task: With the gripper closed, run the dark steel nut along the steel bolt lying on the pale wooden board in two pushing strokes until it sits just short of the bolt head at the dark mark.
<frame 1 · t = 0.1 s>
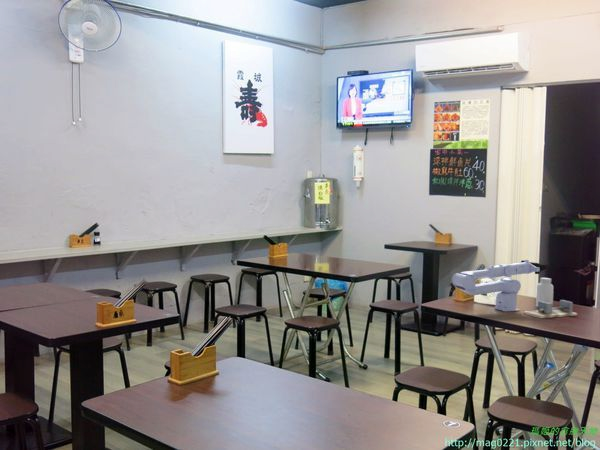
hand: (540, 265, 315), 22 cm above the table, tool horizontal, fingers open, 7 cm apart
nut: (545, 307, 299), point 4 cm above the table, slide at 0.0 cm
bolt board: (550, 314, 300), on the table
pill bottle: (544, 307, 318), on the table
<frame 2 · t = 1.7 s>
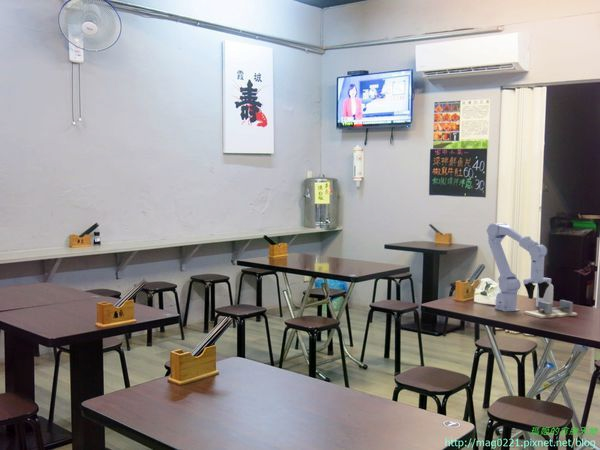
hand: (535, 298, 296), 8 cm above the table, tool pointing down, fingers open, 6 cm apart
nothing on the table moved.
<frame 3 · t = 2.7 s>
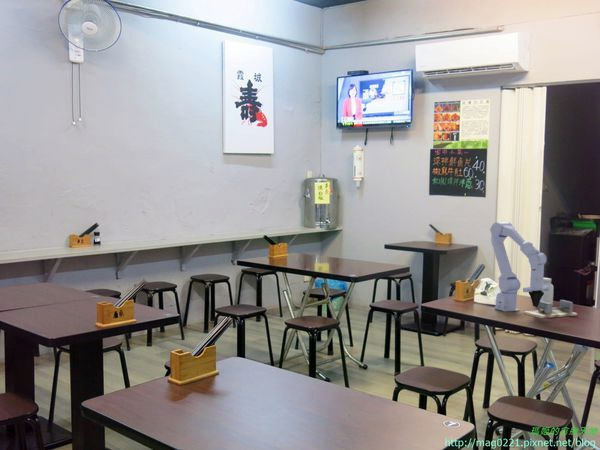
hand: (535, 306, 296), 4 cm above the table, tool pointing down, fingers closed
nothing on the table moved.
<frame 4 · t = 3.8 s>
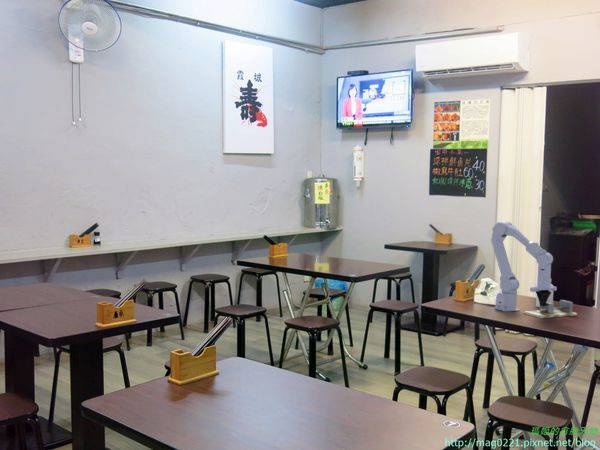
hand: (542, 305, 298), 4 cm above the table, tool pointing down, fingers closed
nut: (546, 307, 299), point 4 cm above the table, slide at 1.0 cm, touching gripper
everything else where it was.
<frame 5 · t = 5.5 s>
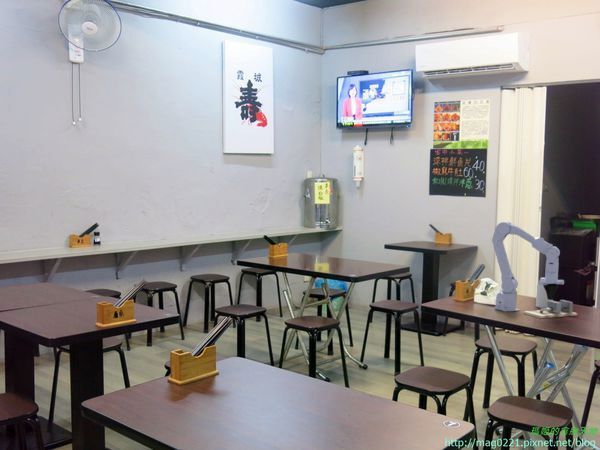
hand: (550, 299, 299), 7 cm above the table, tool pointing down, fingers closed
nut: (554, 306, 301), point 4 cm above the table, slide at 5.6 cm
everything else where it was.
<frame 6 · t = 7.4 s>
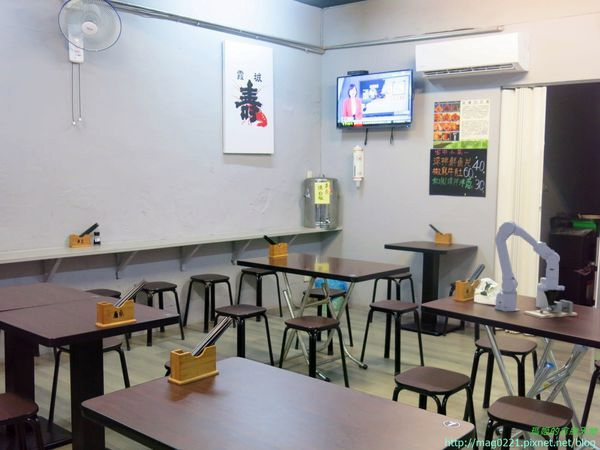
hand: (550, 305, 300), 4 cm above the table, tool pointing down, fingers closed
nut: (554, 306, 301), point 4 cm above the table, slide at 6.0 cm, touching gripper
everything else where it was.
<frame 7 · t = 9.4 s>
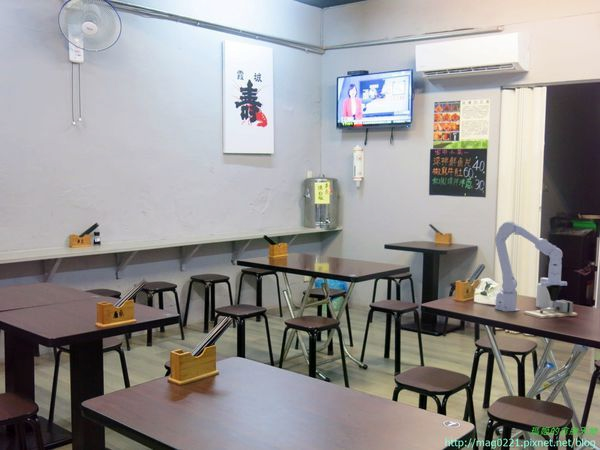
hand: (553, 300, 300), 7 cm above the table, tool pointing down, fingers closed
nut: (560, 306, 302), point 4 cm above the table, slide at 9.6 cm
everything else where it was.
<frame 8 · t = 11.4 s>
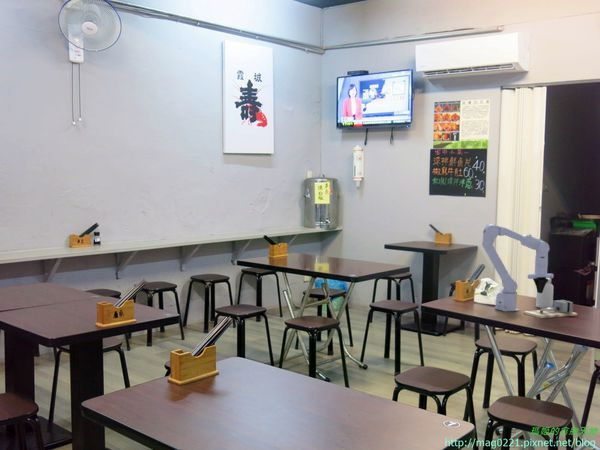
hand: (539, 292, 306), 9 cm above the table, tool pointing down, fingers closed
nothing on the table moved.
at the end: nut slide at 9.6 cm; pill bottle moved 0.2 cm from its start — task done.
